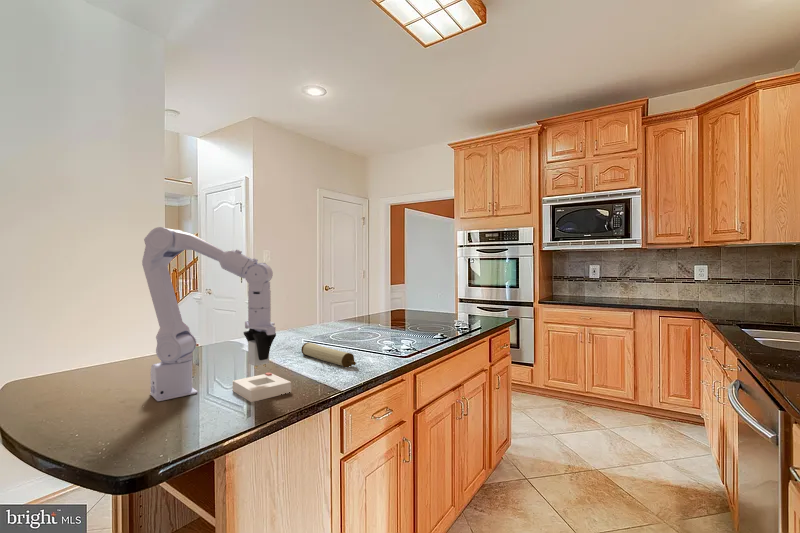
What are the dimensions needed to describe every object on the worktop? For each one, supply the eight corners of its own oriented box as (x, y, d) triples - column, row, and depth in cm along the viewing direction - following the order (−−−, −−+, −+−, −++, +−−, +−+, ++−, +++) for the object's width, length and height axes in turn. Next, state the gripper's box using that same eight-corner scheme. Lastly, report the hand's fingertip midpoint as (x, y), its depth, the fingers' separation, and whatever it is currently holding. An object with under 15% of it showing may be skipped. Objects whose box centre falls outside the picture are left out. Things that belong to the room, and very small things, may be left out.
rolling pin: (296, 354, 150) (296, 341, 150) (308, 352, 154) (308, 339, 154) (348, 371, 128) (348, 356, 128) (362, 368, 132) (362, 353, 132)
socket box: (251, 402, 99) (251, 389, 99) (232, 390, 108) (232, 379, 108) (291, 392, 107) (291, 380, 107) (270, 382, 116) (270, 371, 116)
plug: (254, 369, 104) (254, 338, 104) (248, 366, 107) (248, 336, 107) (269, 366, 107) (268, 336, 106) (262, 364, 110) (262, 334, 109)
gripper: (286, 308, 104) (286, 360, 104) (261, 304, 115) (262, 351, 115) (260, 311, 99) (260, 365, 99) (237, 306, 110) (237, 355, 110)
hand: (259, 358), depth 107 cm, fingers closed on plug, 4 cm apart
